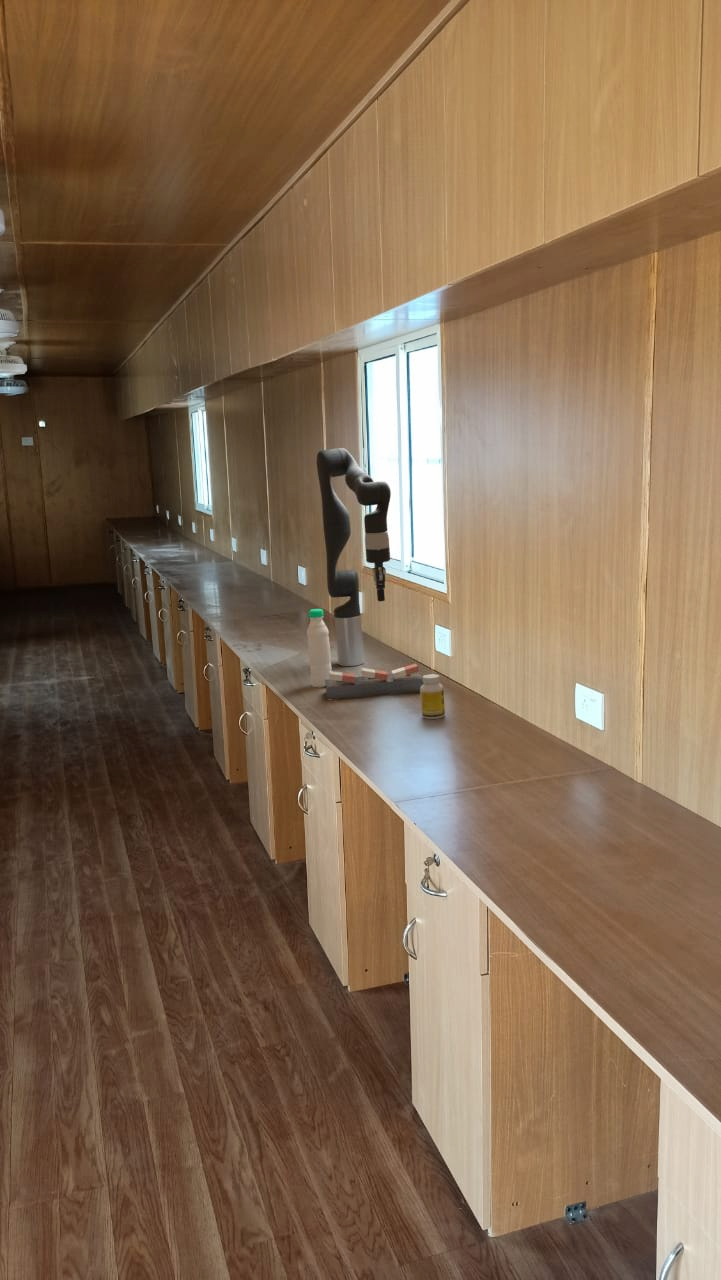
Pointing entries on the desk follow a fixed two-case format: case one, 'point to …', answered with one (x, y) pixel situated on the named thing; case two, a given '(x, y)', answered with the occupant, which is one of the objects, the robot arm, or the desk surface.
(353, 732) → the desk surface
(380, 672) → the block
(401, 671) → the rocker
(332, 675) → the rocker
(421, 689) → the pill bottle
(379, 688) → the power strip
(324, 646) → the water bottle
